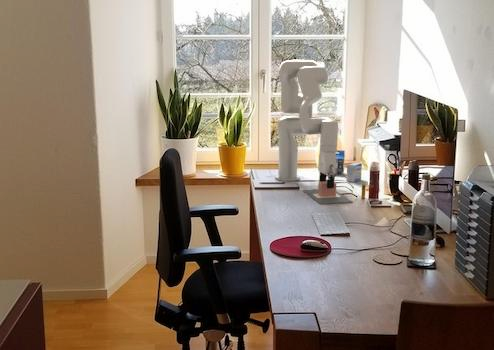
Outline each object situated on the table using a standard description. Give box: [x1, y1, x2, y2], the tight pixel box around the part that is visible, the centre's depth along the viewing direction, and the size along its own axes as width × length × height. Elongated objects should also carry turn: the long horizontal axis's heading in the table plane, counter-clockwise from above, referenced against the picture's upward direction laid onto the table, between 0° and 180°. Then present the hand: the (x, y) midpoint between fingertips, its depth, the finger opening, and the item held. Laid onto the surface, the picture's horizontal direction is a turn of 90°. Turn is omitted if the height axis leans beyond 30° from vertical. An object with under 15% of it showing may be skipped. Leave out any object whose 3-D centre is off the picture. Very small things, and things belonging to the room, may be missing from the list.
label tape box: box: [335, 149, 346, 175], centre depth 306 cm, size 9×4×12 cm, turn 73°
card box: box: [317, 180, 337, 197], centre depth 258 cm, size 7×4×6 cm, turn 103°
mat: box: [302, 188, 354, 205], centre depth 259 cm, size 24×15×1 cm, turn 13°
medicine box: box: [346, 162, 363, 183], centre depth 290 cm, size 8×4×9 cm, turn 143°
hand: (326, 185), depth 258 cm, fingers open, 9 cm apart
